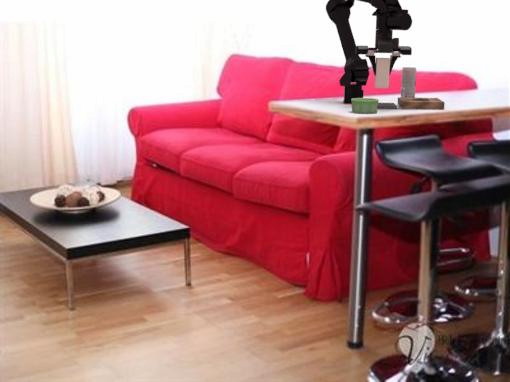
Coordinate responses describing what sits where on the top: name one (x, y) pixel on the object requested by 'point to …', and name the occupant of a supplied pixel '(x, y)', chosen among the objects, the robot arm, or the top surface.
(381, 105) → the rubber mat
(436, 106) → the pocket block
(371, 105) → the ramekin
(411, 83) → the energy drink
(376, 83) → the pink block
